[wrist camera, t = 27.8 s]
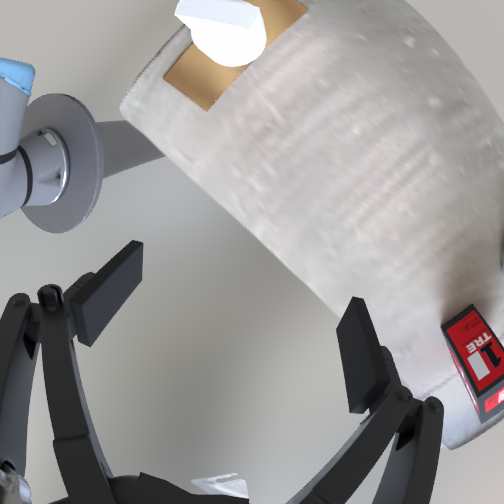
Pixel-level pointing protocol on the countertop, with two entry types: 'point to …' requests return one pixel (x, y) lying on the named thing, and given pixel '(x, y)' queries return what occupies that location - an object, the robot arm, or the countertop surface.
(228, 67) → the tan rectangular plate
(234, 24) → the cylinder with rectangular tab
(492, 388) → the cleaning product box
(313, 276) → the countertop surface
